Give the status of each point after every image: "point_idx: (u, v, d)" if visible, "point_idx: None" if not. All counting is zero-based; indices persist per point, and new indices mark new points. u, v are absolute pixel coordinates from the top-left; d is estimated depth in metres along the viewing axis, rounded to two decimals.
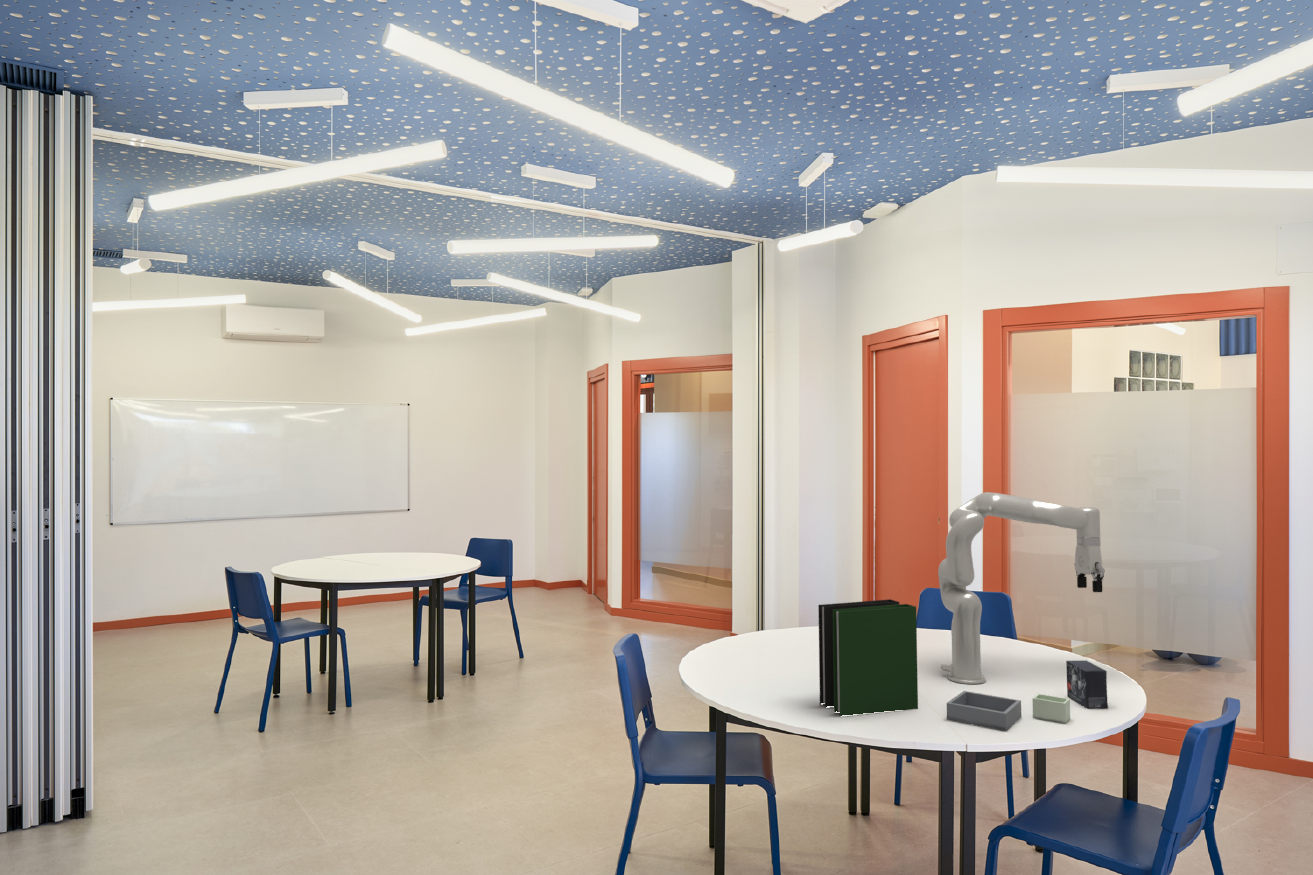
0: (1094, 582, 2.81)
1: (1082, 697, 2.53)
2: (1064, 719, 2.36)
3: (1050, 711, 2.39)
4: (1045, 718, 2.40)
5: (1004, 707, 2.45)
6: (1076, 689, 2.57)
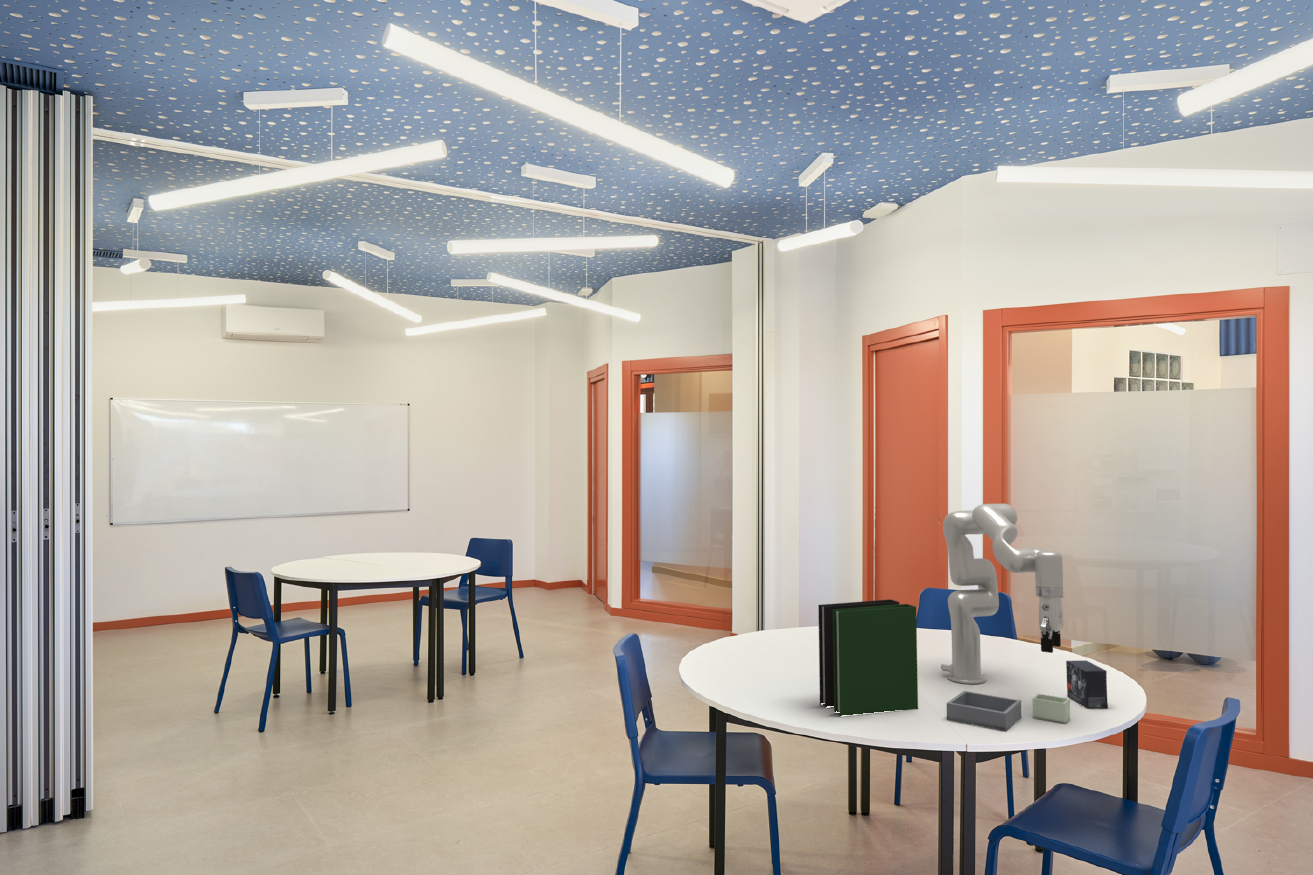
0: None
1: (1082, 697, 2.53)
2: (1064, 719, 2.36)
3: (1050, 711, 2.39)
4: (1045, 718, 2.40)
5: (1004, 707, 2.45)
6: (1076, 689, 2.57)
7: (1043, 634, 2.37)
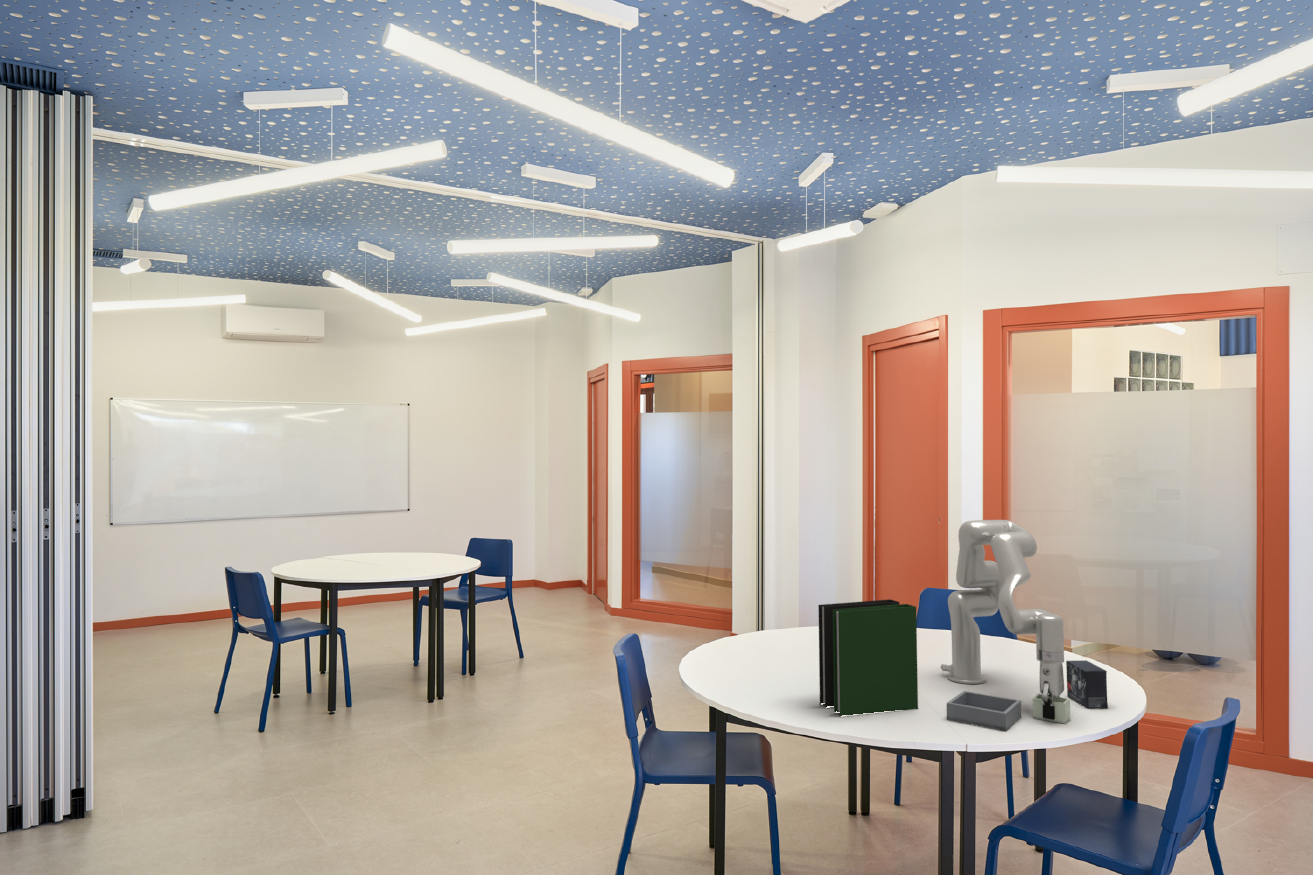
0: None
1: (1082, 697, 2.53)
2: (1064, 719, 2.36)
3: None
4: (1045, 718, 2.40)
5: (1004, 707, 2.45)
6: (1076, 689, 2.57)
7: (1045, 701, 2.37)
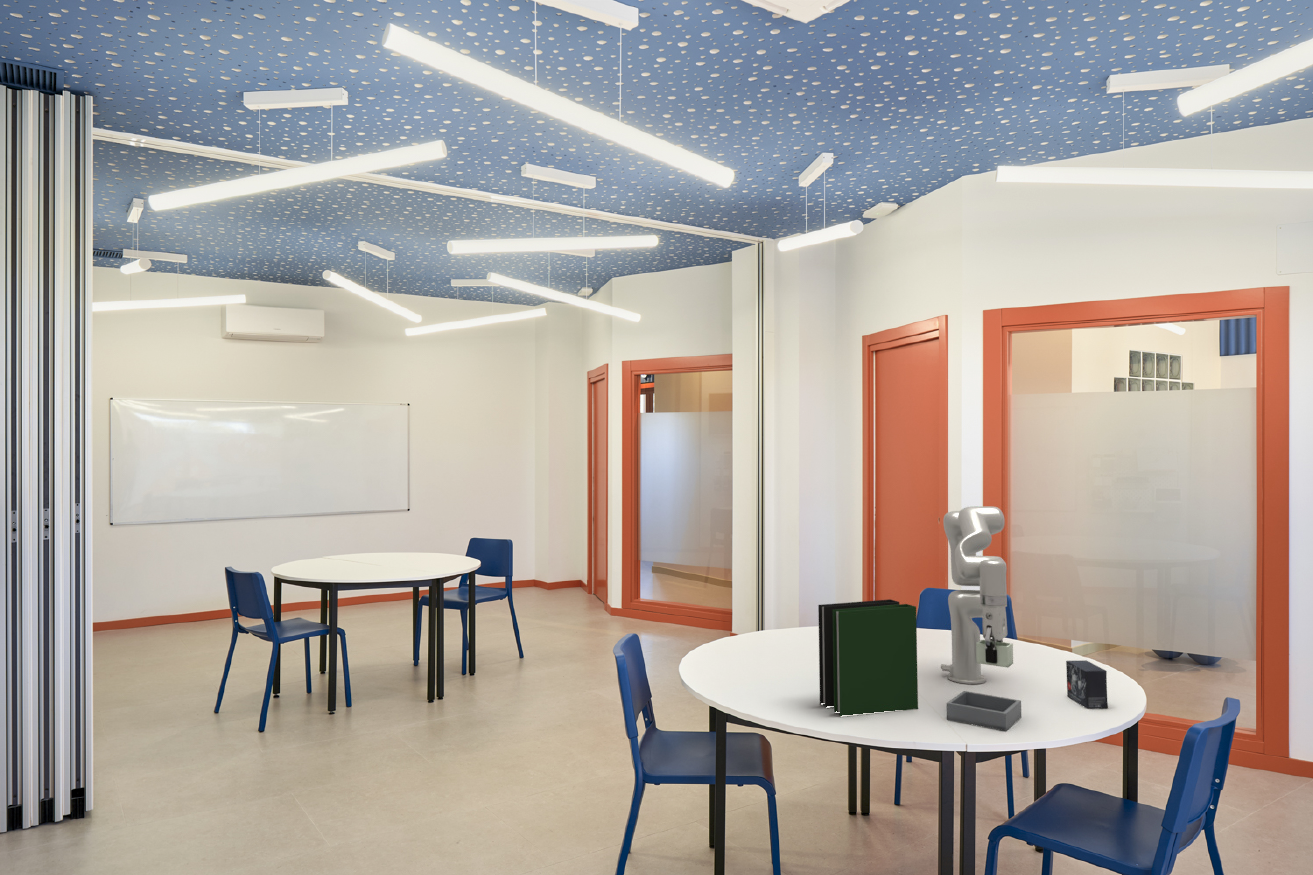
0: None
1: (1082, 697, 2.53)
2: (1006, 663, 2.37)
3: None
4: None
5: (1004, 707, 2.45)
6: (1076, 689, 2.57)
7: (988, 645, 2.38)
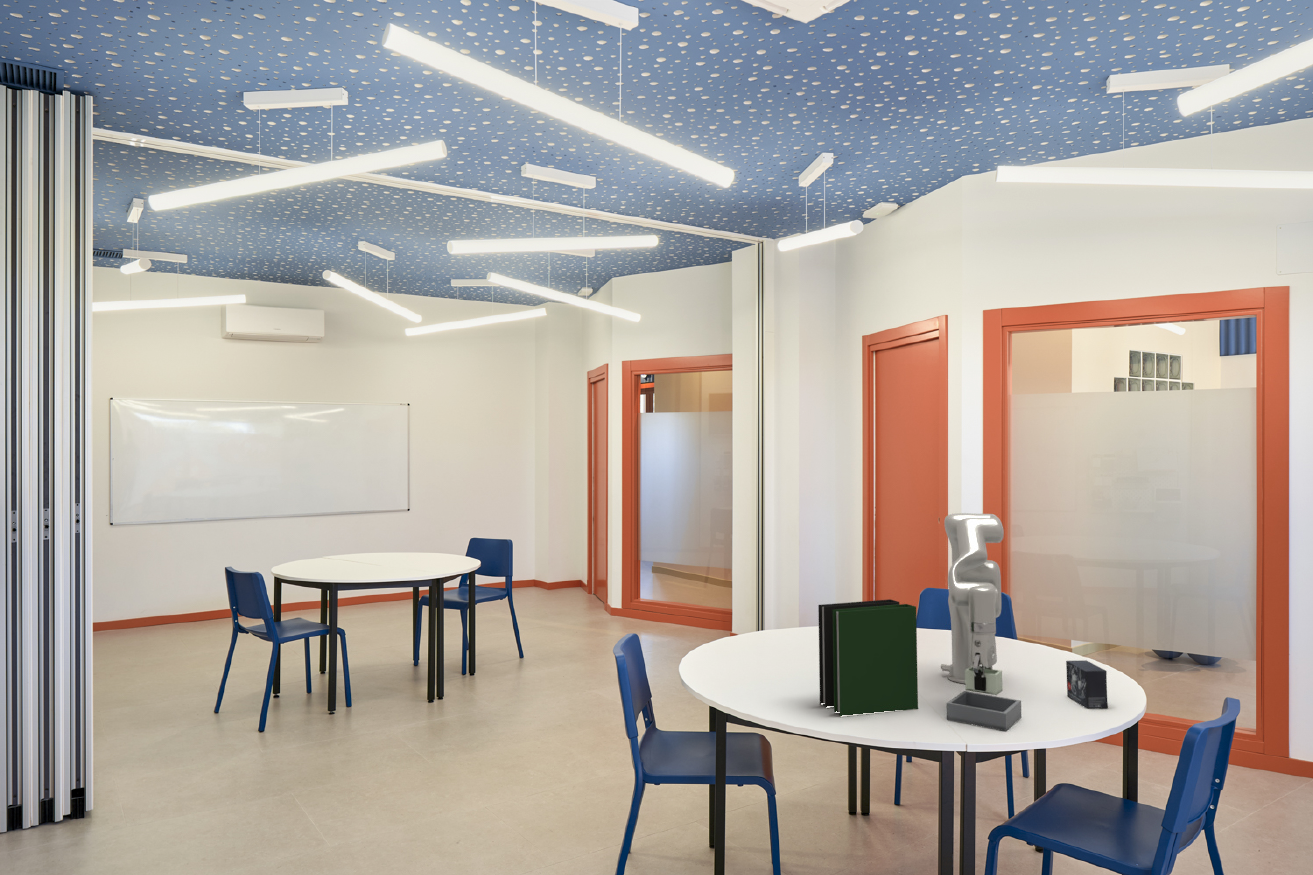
0: None
1: (1082, 697, 2.53)
2: (995, 690, 2.37)
3: None
4: (977, 690, 2.40)
5: (1004, 707, 2.45)
6: (1076, 689, 2.57)
7: (976, 672, 2.38)
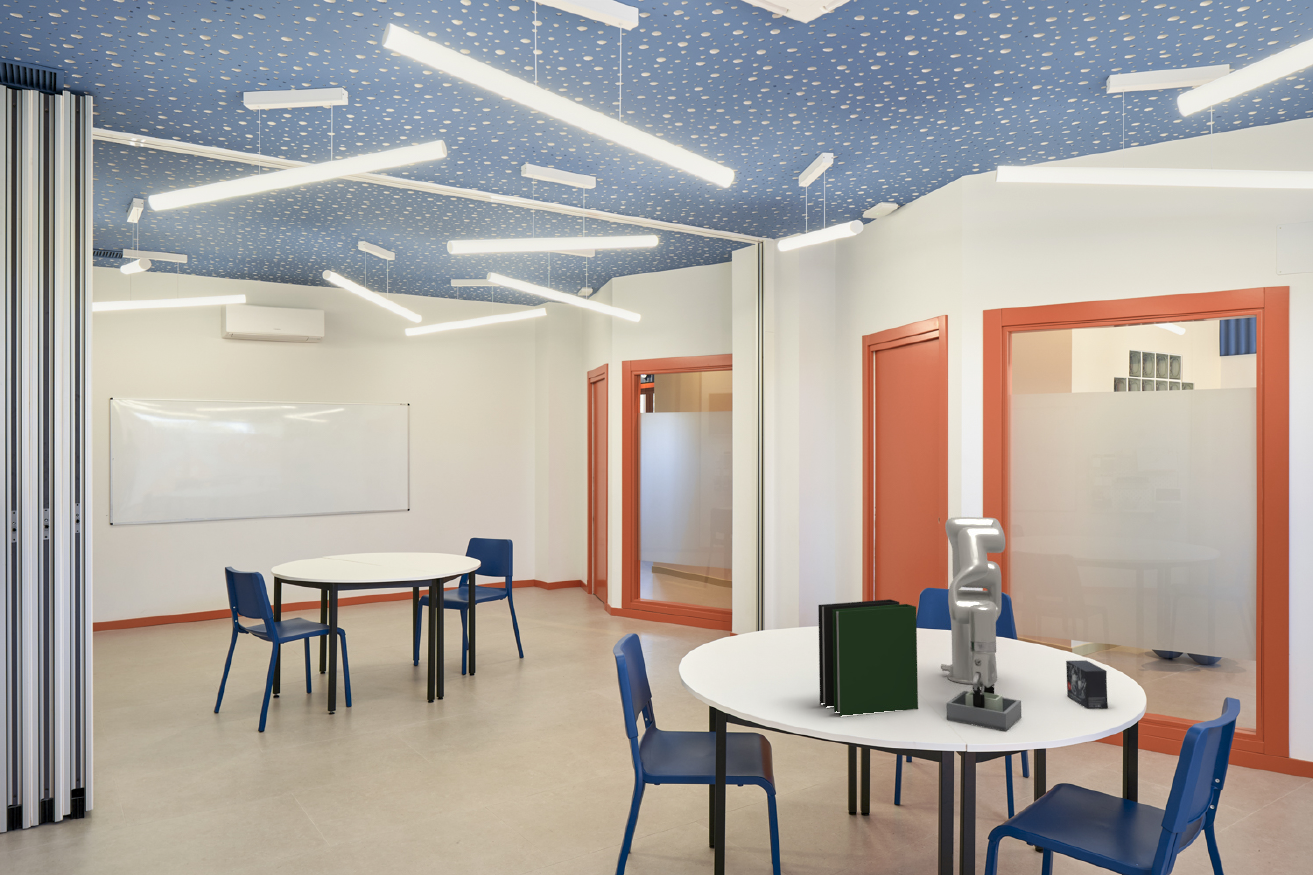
0: None
1: (1082, 697, 2.53)
2: None
3: None
4: None
5: (1004, 707, 2.45)
6: (1076, 689, 2.57)
7: (975, 690, 2.37)
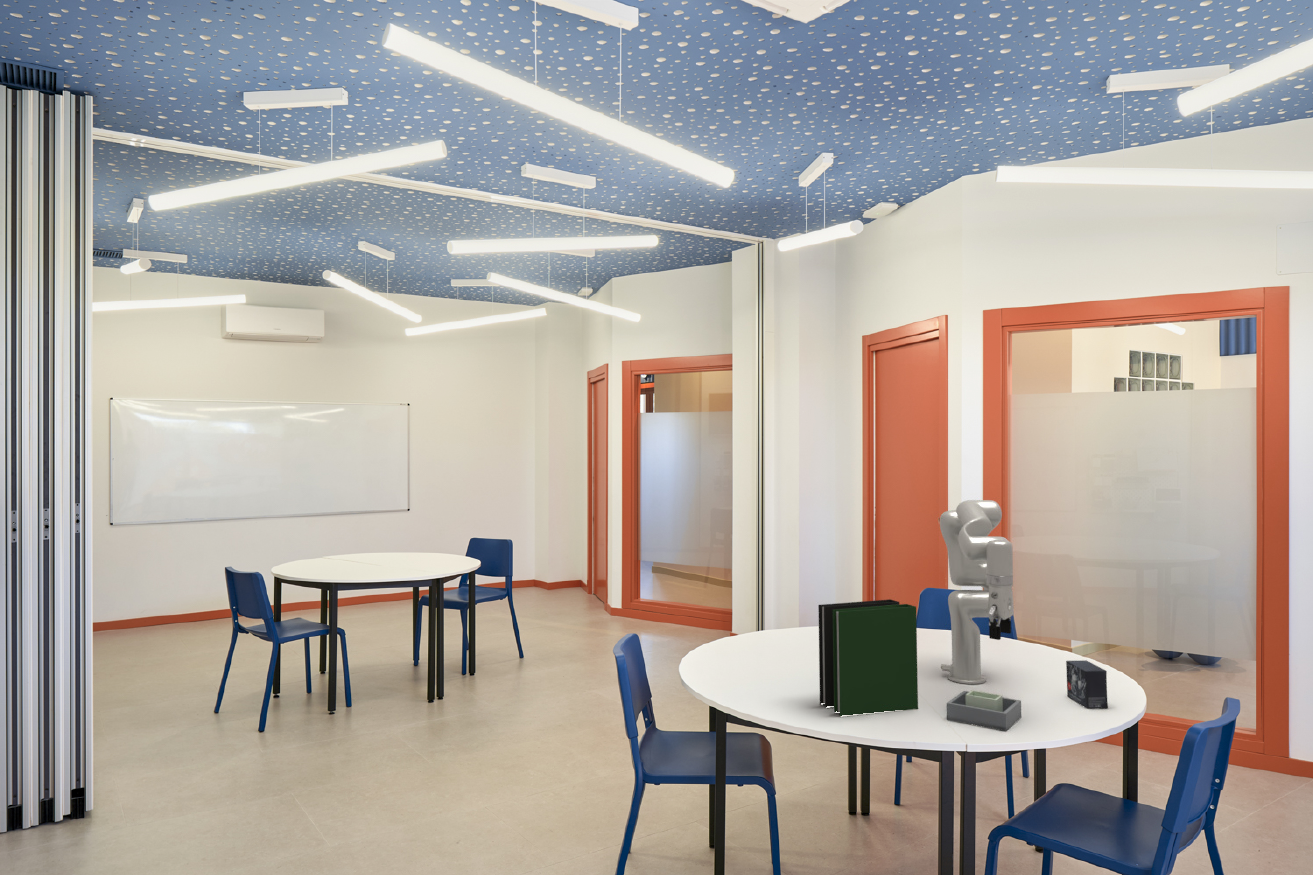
0: None
1: (1082, 697, 2.53)
2: None
3: (982, 707, 2.40)
4: None
5: (1004, 707, 2.45)
6: (1076, 689, 2.57)
7: (991, 622, 2.42)
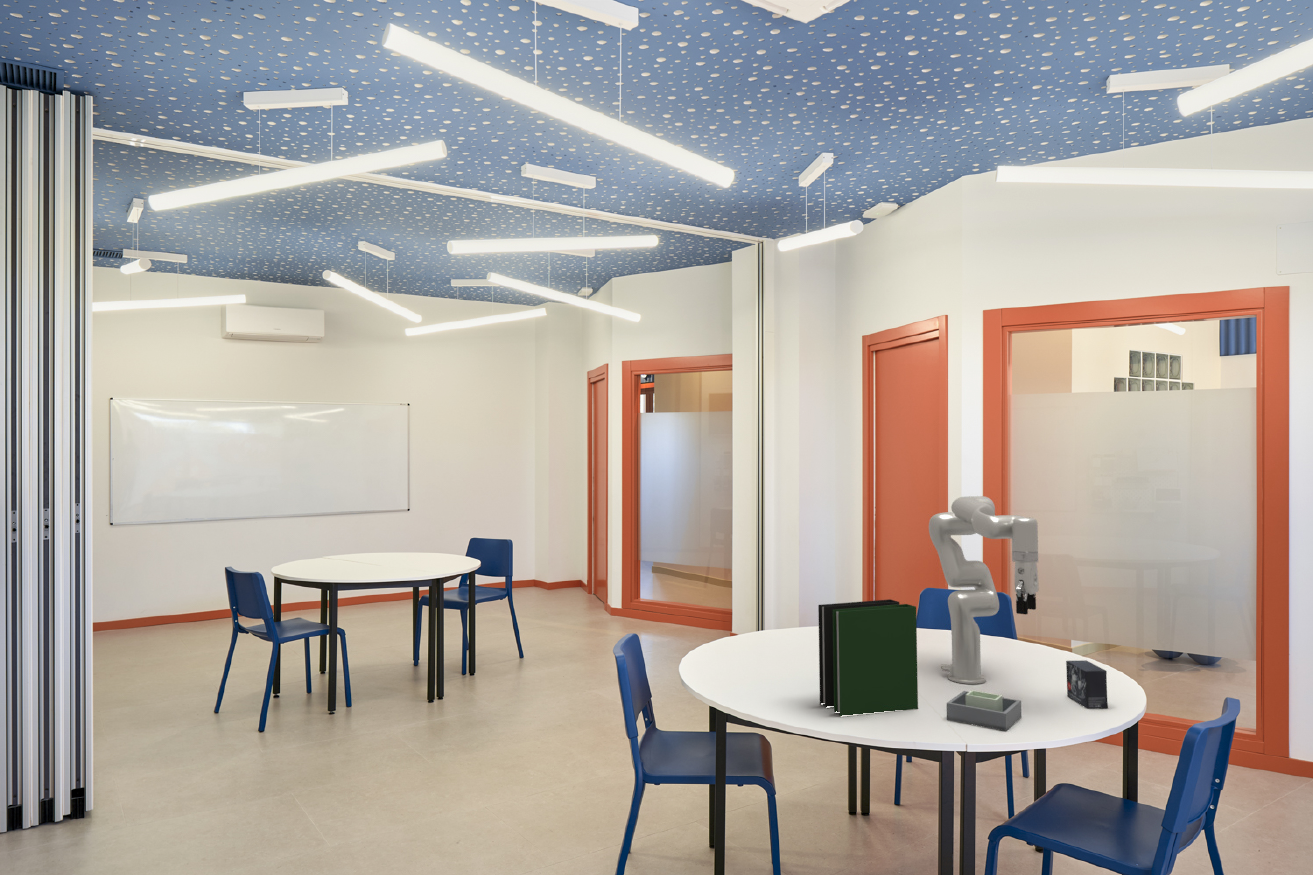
0: None
1: (1082, 697, 2.53)
2: None
3: (982, 707, 2.40)
4: None
5: (1004, 707, 2.45)
6: (1076, 689, 2.57)
7: (1018, 596, 2.46)
